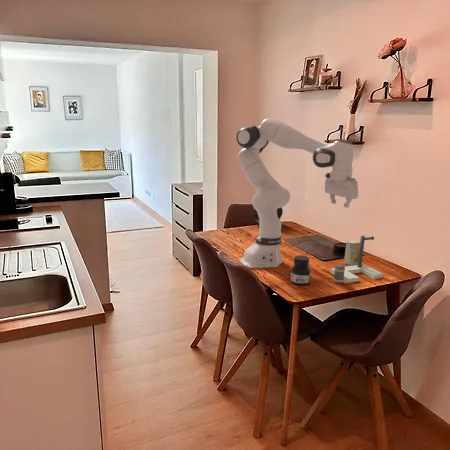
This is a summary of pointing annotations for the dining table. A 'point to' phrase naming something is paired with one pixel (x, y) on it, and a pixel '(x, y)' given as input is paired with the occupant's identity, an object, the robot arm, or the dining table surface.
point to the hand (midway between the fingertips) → (339, 205)
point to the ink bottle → (300, 270)
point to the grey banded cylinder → (339, 274)
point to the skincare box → (352, 252)
